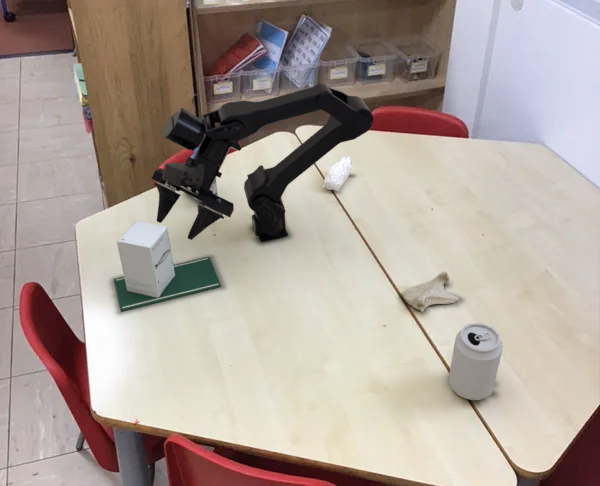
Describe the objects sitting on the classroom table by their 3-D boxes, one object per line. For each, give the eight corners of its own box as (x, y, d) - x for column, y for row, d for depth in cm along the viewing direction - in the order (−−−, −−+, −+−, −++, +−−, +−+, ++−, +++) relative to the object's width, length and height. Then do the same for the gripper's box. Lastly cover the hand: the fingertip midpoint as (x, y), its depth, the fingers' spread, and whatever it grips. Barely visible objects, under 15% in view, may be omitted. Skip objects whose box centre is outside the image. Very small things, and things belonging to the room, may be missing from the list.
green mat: (209, 257, 143) (209, 256, 143) (221, 286, 135) (221, 285, 135) (114, 280, 138) (113, 278, 137) (121, 311, 130) (120, 310, 130)
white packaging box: (159, 299, 132) (149, 248, 125) (126, 291, 134) (114, 241, 127) (176, 275, 138) (168, 226, 130) (144, 268, 140) (135, 219, 132)
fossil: (465, 298, 131) (467, 285, 129) (419, 316, 127) (420, 303, 125) (443, 278, 136) (445, 265, 134) (399, 295, 132) (400, 281, 130)
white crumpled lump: (331, 176, 171) (318, 187, 162) (339, 151, 168) (326, 162, 159) (349, 183, 170) (337, 195, 161) (357, 158, 167) (345, 169, 158)
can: (443, 370, 117) (451, 320, 110) (485, 367, 117) (496, 317, 110) (454, 405, 111) (463, 354, 103) (499, 401, 111) (511, 351, 104)
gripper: (151, 132, 133) (116, 203, 133) (218, 162, 123) (180, 238, 123) (185, 151, 143) (153, 217, 142) (250, 180, 133) (215, 251, 132)
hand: (173, 230), depth 135 cm, fingers open, 9 cm apart
